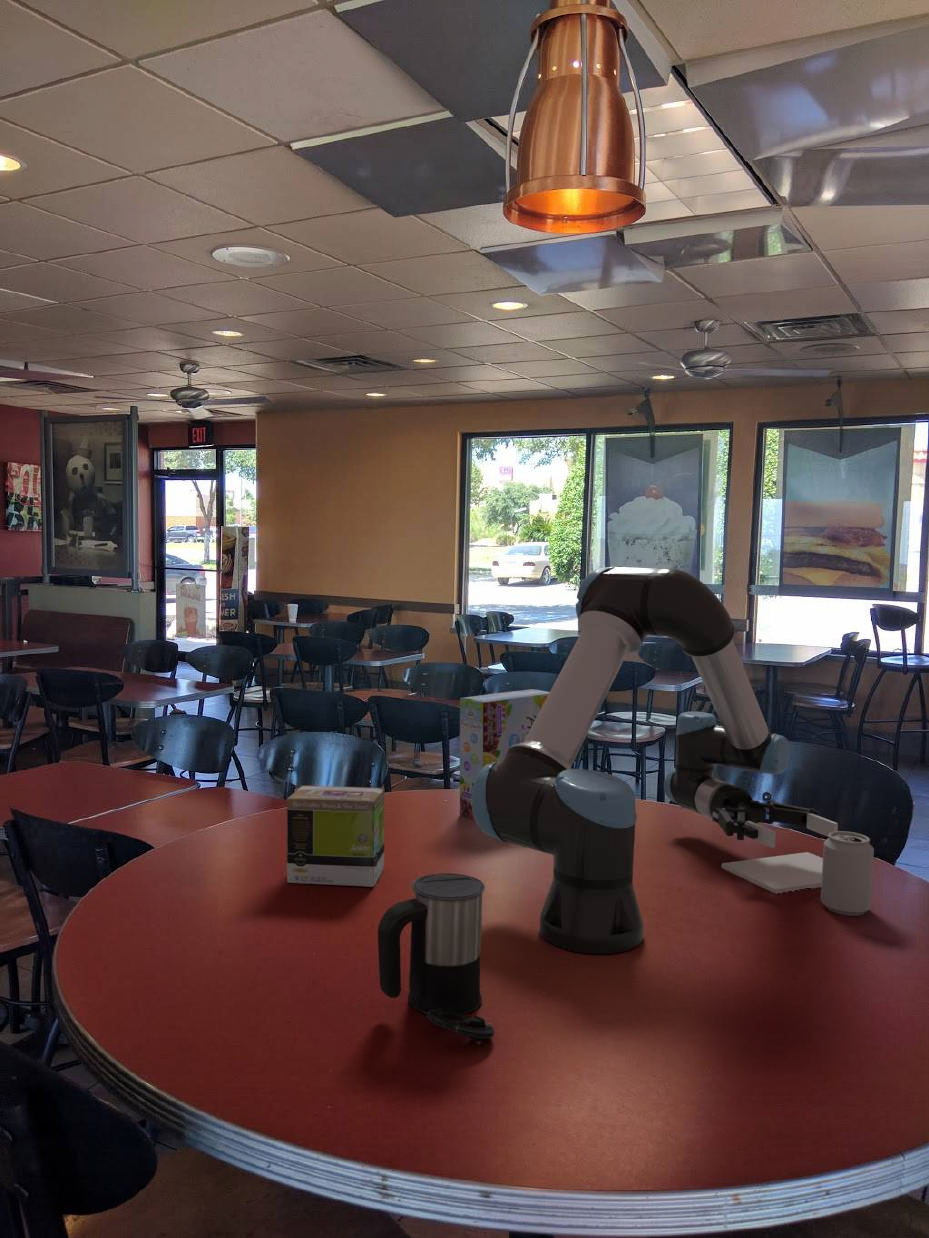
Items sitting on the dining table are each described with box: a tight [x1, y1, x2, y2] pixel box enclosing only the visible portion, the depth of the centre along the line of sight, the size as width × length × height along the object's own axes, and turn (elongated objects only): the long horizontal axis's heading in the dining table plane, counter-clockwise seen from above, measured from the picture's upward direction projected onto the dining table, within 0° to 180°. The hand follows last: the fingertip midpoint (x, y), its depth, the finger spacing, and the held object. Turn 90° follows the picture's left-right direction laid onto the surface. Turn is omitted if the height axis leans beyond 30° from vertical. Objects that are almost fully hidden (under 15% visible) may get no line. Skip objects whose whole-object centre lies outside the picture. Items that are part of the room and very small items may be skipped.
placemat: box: [721, 851, 823, 895], centre depth 169 cm, size 20×14×1 cm
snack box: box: [459, 689, 550, 821], centre depth 204 cm, size 22×9×26 cm, turn 130°
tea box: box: [286, 785, 385, 888], centre depth 161 cm, size 15×10×15 cm
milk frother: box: [377, 872, 495, 1043], centre depth 114 cm, size 14×16×15 cm
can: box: [820, 830, 875, 917], centre depth 152 cm, size 8×8×12 cm
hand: (805, 835), depth 161 cm, fingers open, 13 cm apart
